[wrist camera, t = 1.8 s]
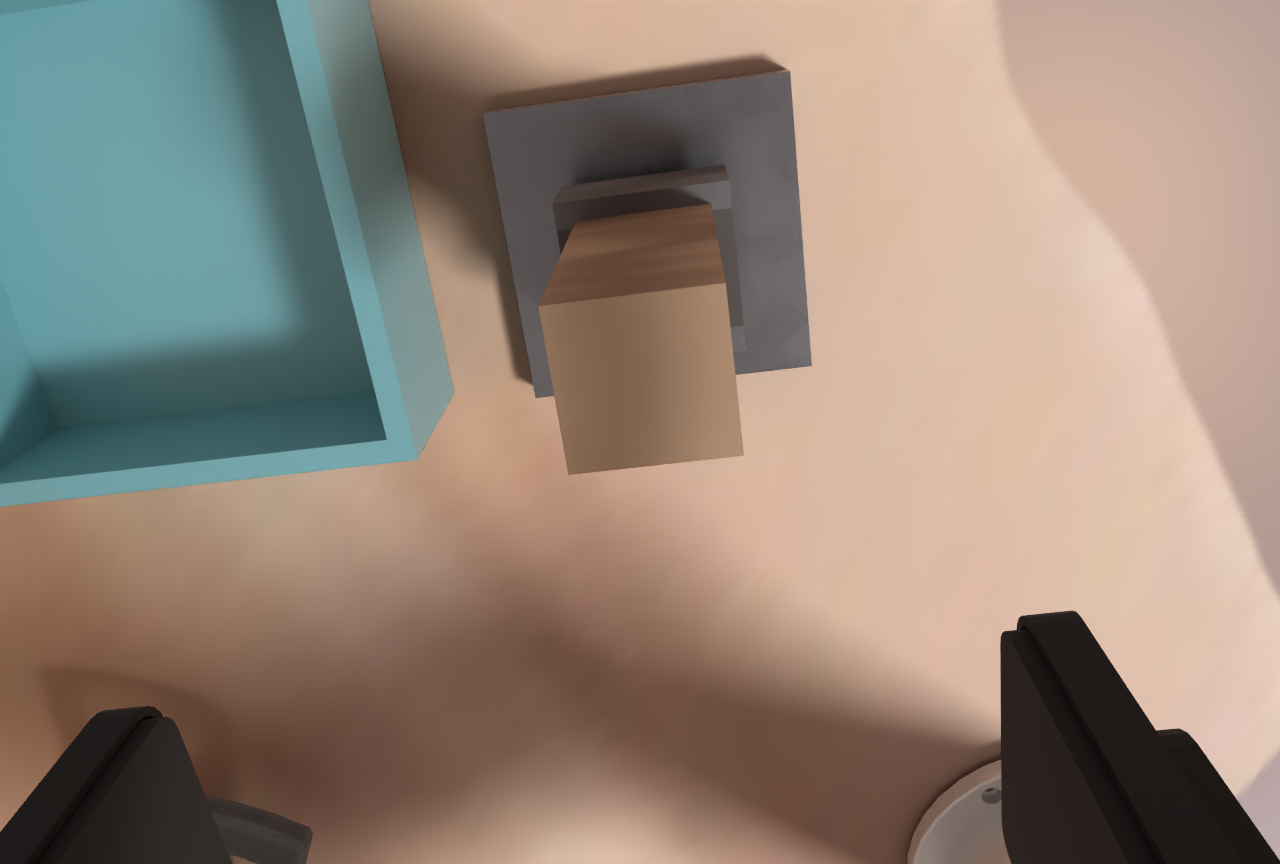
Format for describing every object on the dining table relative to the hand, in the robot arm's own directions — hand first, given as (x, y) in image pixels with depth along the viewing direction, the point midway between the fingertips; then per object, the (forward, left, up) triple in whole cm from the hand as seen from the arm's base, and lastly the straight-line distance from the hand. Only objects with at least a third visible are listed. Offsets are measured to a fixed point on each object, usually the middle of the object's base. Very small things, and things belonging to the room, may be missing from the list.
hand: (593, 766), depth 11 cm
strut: (0, 0, -24) cm, 24 cm away
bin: (+16, -3, -26) cm, 31 cm away
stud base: (0, 0, -26) cm, 26 cm away
